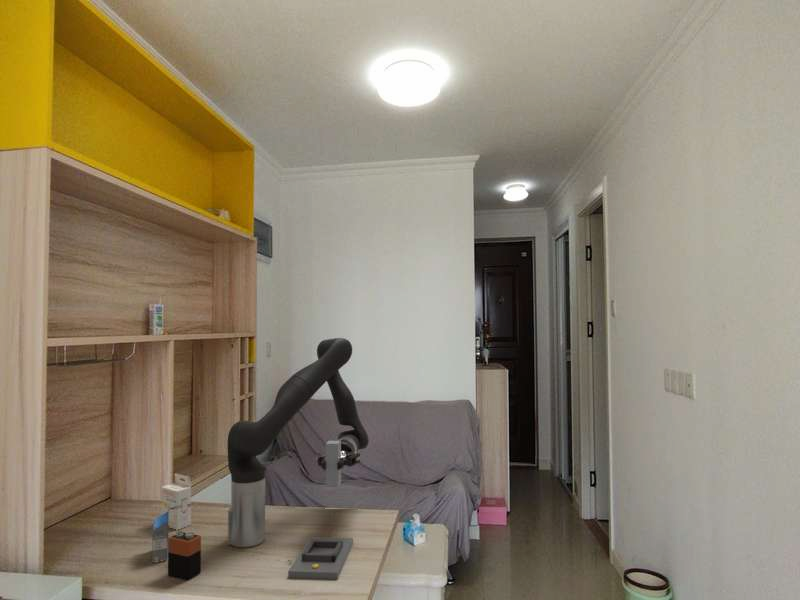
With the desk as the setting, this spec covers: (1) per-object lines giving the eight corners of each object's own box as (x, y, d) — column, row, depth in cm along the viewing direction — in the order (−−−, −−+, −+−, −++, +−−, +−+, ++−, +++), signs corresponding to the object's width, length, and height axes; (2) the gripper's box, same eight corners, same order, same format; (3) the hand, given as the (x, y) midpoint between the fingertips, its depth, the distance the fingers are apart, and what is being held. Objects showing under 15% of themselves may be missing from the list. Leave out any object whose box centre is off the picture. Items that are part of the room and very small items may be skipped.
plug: (325, 486, 142) (325, 443, 142) (328, 482, 146) (328, 440, 146) (338, 487, 141) (338, 443, 142) (341, 482, 145) (340, 440, 146)
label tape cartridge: (153, 550, 137) (154, 503, 138) (169, 547, 138) (169, 501, 139) (151, 563, 129) (152, 514, 129) (168, 560, 130) (168, 512, 131)
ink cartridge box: (159, 525, 154) (160, 476, 155) (174, 520, 158) (175, 472, 159) (176, 531, 150) (177, 480, 151) (191, 525, 154) (192, 476, 155)
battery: (187, 581, 119) (188, 538, 120) (166, 576, 122) (167, 533, 122) (201, 573, 123) (202, 531, 124) (181, 568, 126) (181, 527, 126)
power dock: (288, 577, 120) (288, 564, 120) (310, 542, 140) (310, 531, 140) (337, 579, 119) (337, 566, 119) (353, 543, 139) (353, 532, 139)
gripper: (321, 439, 159) (306, 452, 142) (365, 439, 158) (356, 452, 140) (321, 463, 158) (306, 479, 141) (365, 463, 157) (356, 480, 140)
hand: (331, 466), depth 141 cm, fingers closed on plug, 3 cm apart
